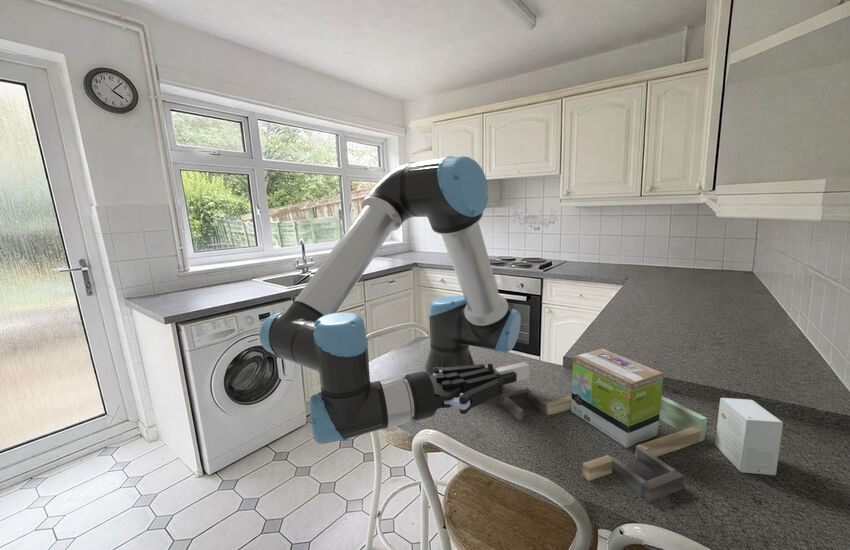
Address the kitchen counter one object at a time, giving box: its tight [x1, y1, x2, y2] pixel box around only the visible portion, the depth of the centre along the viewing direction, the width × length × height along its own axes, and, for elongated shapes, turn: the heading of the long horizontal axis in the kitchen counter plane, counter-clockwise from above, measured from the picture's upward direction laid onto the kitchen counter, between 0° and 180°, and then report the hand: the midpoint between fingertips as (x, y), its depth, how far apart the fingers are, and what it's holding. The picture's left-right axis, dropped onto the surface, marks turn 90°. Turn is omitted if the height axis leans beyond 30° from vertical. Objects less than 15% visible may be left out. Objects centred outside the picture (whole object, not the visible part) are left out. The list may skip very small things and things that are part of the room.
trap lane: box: [500, 388, 708, 503], centre depth 77 cm, size 36×31×5 cm
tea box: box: [570, 347, 664, 449], centre depth 78 cm, size 15×10×15 cm
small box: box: [714, 397, 784, 476], centre depth 66 cm, size 8×6×10 cm
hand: (526, 369), depth 67 cm, fingers closed
